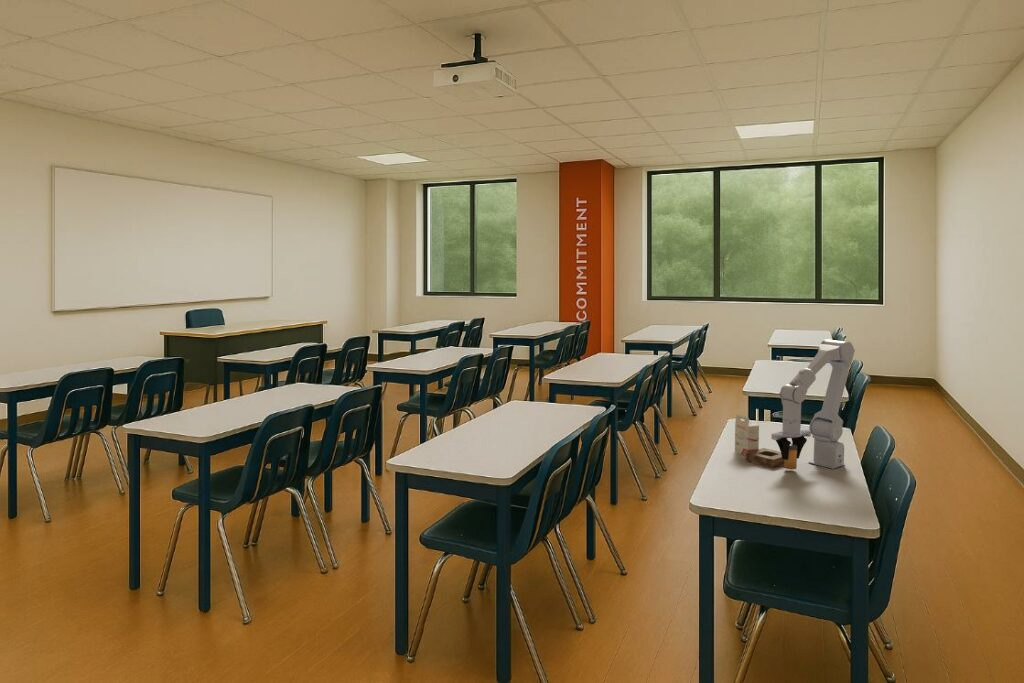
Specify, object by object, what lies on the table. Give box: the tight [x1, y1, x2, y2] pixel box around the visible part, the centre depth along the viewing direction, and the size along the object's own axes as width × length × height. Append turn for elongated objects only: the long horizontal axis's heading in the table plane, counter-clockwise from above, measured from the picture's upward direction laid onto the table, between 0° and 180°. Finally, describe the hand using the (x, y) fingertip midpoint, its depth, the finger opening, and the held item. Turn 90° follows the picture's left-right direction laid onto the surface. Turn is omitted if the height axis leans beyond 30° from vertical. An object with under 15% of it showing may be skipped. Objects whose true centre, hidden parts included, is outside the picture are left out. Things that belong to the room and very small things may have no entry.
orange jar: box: [783, 443, 798, 470], centre depth 244 cm, size 4×4×8 cm
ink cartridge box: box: [734, 413, 760, 457], centre depth 266 cm, size 9×5×15 cm, turn 17°
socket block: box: [745, 447, 784, 469], centre depth 256 cm, size 11×11×3 cm
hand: (790, 458), depth 245 cm, fingers closed on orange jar, 4 cm apart
